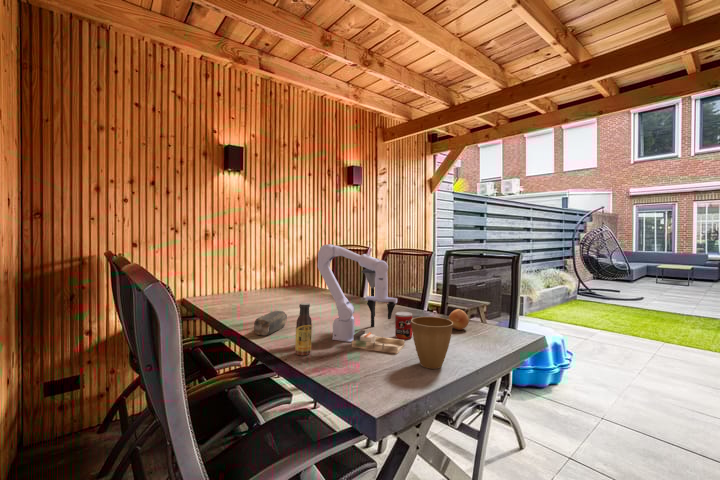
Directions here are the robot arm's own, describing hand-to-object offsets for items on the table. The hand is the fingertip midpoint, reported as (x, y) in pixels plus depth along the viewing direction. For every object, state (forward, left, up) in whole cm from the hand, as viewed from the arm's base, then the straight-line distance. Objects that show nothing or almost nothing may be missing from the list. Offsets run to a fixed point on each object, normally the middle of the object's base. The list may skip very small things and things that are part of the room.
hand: (381, 317), depth 151 cm
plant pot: (+27, -20, -10) cm, 35 cm away
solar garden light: (-12, +19, -10) cm, 25 cm away
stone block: (-55, -9, -10) cm, 56 cm away
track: (+2, -9, -10) cm, 14 cm away
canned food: (+8, +8, -10) cm, 15 cm away
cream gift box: (-3, -9, -9) cm, 13 cm away
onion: (+29, +32, -10) cm, 44 cm away
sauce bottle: (-22, -29, -10) cm, 38 cm away
